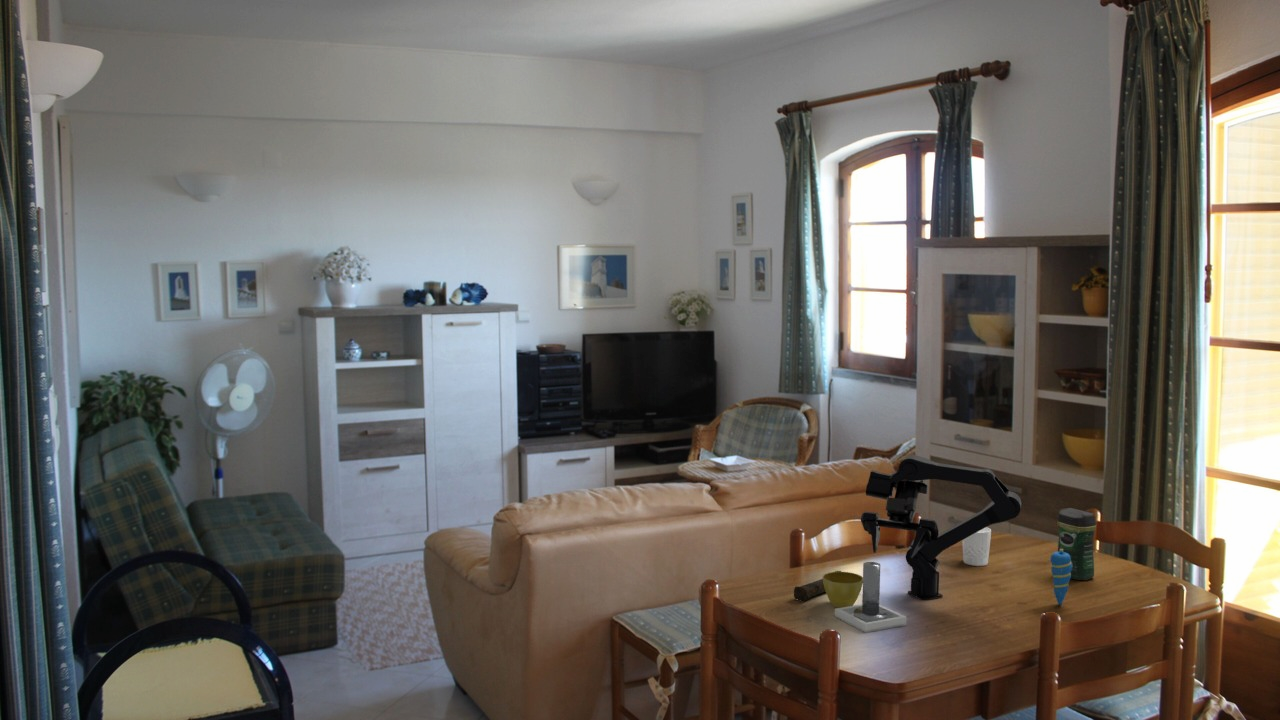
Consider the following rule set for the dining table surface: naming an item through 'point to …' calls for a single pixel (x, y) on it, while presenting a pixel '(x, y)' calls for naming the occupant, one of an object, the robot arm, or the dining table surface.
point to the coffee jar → (1077, 540)
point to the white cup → (977, 548)
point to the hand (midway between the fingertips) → (892, 554)
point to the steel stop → (870, 594)
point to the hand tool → (809, 590)
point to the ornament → (1061, 573)
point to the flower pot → (842, 588)
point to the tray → (891, 621)
